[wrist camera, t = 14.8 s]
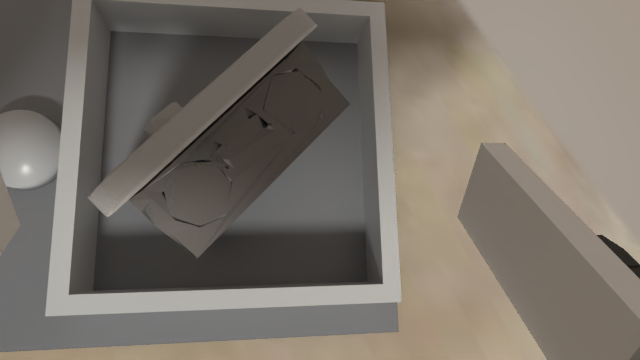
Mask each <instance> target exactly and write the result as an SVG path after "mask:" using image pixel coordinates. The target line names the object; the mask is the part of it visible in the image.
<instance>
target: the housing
mask: <svg viewBox="0 0 640 360" xmlns="http://www.w3.org/2000/svg"><path fill="white" fill-rule="evenodd" d="M298 8H301V9H302V10H303V11H304V12H305V13H306V14H307V15H308V16H309V17H310V18H311V19H312V20H313V21H314V22H315V23H316V24H317V25H318V26H317V27H316V28H315V29H314V30H313V31H312V32H310V33H309V34H308V35H307V36H306V37H305V38H304V39H303V42H304V43H305V45H306V46H307V48H308V50H309V51H310V53H311V54H312V55H313V56H314V57H315V58H316V60H317V61H318V62H319V63H320V64H321V66H322V67H323V69H324V71H325V73H326V75H327V77H328V79H329V80H330V81H331V82H332V84H333V85H334V86H335V87H336V88H337V89H338V90H339V92H340V93H341V94H342V95H343V96H344V97H345V99H346V100H347V101H348V102H349V103H350V105H349V106H348V107H347V108H346V109H345V110H344V111H343V112H342V113H341V114H340V115H339V116H338V117H337V118H336V119H335V120H334V121H333V122H332V123H331V124H330V125H329V126H328V127H327V128H326V129H325V130H324V131H323V132H322V133H321V134H320V135H319V136H318V137H317V138H316V139H315V140H314V141H313V142H312V143H311V144H310V145H309V146H308V147H307V148H306V149H305V150H304V151H303V152H302V153H301V154H300V155H299V156H298V157H297V158H296V159H295V160H294V161H293V162H292V163H291V165H290V166H289V167H288V168H287V169H286V170H285V171H284V172H283V173H282V174H281V175H280V176H279V177H278V178H277V179H276V180H275V181H274V182H273V183H272V184H271V185H270V186H269V187H268V188H267V189H266V190H265V191H264V192H263V193H262V194H261V195H260V196H259V197H258V198H257V199H256V200H255V201H254V202H253V203H252V204H251V205H250V206H249V207H248V208H247V209H246V210H245V211H244V212H243V213H242V214H241V215H240V216H239V217H238V218H237V219H236V220H235V221H234V222H233V223H232V224H231V225H230V226H229V227H228V228H227V229H226V230H225V231H224V232H223V233H222V234H221V235H220V236H219V237H218V238H217V239H216V240H215V241H214V242H213V243H212V244H211V245H210V246H209V247H208V248H207V249H206V250H205V251H204V252H203V253H202V254H201V255H200V256H199V257H198V258H197V257H196V256H195V257H194V256H192V255H191V254H190V253H189V252H188V251H187V250H186V249H185V248H184V247H183V246H182V245H180V244H179V243H178V242H176V241H175V240H174V239H172V238H171V237H169V236H168V235H167V234H165V233H164V232H163V231H161V230H160V229H159V228H157V227H156V226H155V225H153V224H152V222H151V221H150V220H149V219H148V218H147V217H146V216H145V215H144V214H143V213H142V212H141V211H140V210H139V209H137V208H136V207H135V206H134V205H133V204H132V203H131V202H129V201H127V202H125V203H124V204H123V205H122V206H121V207H120V208H119V209H118V210H117V211H116V212H115V213H113V214H112V215H110V216H109V217H107V216H105V215H104V214H103V213H102V212H101V211H100V210H99V209H98V208H97V207H96V206H95V205H94V204H93V203H92V202H91V201H90V200H89V199H88V198H87V197H88V196H89V195H90V194H91V193H92V192H93V191H94V190H95V188H96V187H97V186H98V185H99V184H100V183H101V182H102V181H103V180H104V178H105V177H106V176H107V175H108V174H109V173H110V172H111V171H113V170H114V169H115V168H116V167H117V166H118V165H119V164H120V163H122V162H123V161H124V160H125V159H126V158H127V157H128V156H129V155H130V154H132V153H133V152H134V151H135V150H136V149H137V148H138V147H139V146H141V145H142V144H143V143H144V142H145V141H146V140H147V139H148V138H149V137H148V135H147V134H146V133H145V131H144V130H143V129H144V128H145V126H146V125H147V124H148V122H149V121H150V120H151V119H152V118H153V117H154V116H156V115H157V114H158V113H159V112H161V111H162V110H163V109H164V108H166V107H167V106H168V105H169V104H171V103H174V102H177V103H178V104H179V105H180V106H181V107H182V108H183V107H184V106H186V105H187V104H188V103H189V102H190V100H191V99H193V98H194V97H195V96H196V95H197V94H199V93H200V92H201V91H202V90H203V89H205V88H206V87H207V86H208V85H209V84H210V83H211V82H213V81H214V80H215V79H216V78H217V77H218V76H219V75H221V74H222V73H223V72H224V71H225V70H226V69H227V68H228V67H230V66H231V65H232V64H233V63H234V62H235V61H236V60H238V59H239V58H240V57H241V56H242V55H243V54H244V53H245V52H247V51H248V50H249V49H250V48H251V47H252V46H253V45H255V44H256V43H257V42H258V41H259V40H260V39H261V38H263V37H264V36H265V35H266V34H267V33H268V32H269V31H270V30H272V29H273V28H274V27H275V26H276V25H277V24H278V23H279V22H281V21H282V20H283V19H284V18H286V17H287V16H288V15H290V14H291V13H293V12H294V11H295V10H297V9H298ZM321 117H322V114H321ZM295 133H296V132H295ZM0 171H1V174H2V177H3V179H4V182H5V185H6V187H7V190H8V193H9V195H10V198H11V201H12V203H13V206H14V209H15V212H16V214H17V217H18V220H19V222H20V227H19V228H18V230H17V231H16V233H15V234H14V236H13V237H12V239H11V240H10V242H9V243H8V245H7V246H6V248H5V249H4V251H3V252H2V254H1V255H0V352H11V351H31V350H50V349H70V348H90V347H110V346H129V345H149V344H169V343H188V342H208V341H228V340H247V339H267V338H287V337H307V336H326V335H346V334H366V333H385V332H399V330H398V312H397V302H402V301H401V283H400V266H399V248H398V230H397V213H396V195H395V177H394V160H393V142H392V124H391V107H390V89H389V71H388V53H387V36H386V18H385V3H382V2H367V1H352V0H0ZM224 216H225V214H224V215H222V216H221V217H224ZM221 217H219V218H221ZM217 219H218V218H217ZM190 225H192V224H190ZM193 226H195V225H193Z"/></svg>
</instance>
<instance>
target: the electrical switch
mask: <svg viewBox="0 0 640 360" xmlns="http://www.w3.org/2000/svg"><path fill="white" fill-rule="evenodd" d="M317 26H318V25H317V24H316V23H315V22H314V21H313V20H312V19H311V18H310V17H309V16H308V15H307V14H306V13H305V12H304V11H303V10H302V9H301V8H298V9H297V10H295V11H294V12H293V13H291V14H290V15H288V16H287V17H286V18H284V19H283V20H282V21H281V22H279V23H278V24H277V25H276V26H275V27H274V28H273V29H272V30H270V31H269V32H268V33H267V34H266V35H265V36H264V37H263V38H261V39H260V40H259V41H258V42H257V43H256V44H255V45H253V46H252V47H251V48H250V49H249V50H248V51H247V52H245V53H244V54H243V55H242V56H241V57H240V58H239V59H238V60H236V61H235V62H234V63H233V64H232V65H231V66H230V67H228V68H227V69H226V70H225V71H224V72H223V73H222V74H221V75H219V76H218V77H217V78H216V79H215V80H214V81H213V82H211V83H210V84H209V85H208V86H207V87H206V88H205V89H203V90H202V91H201V92H200V93H199V94H197V95H196V96H195V97H194V98H193V99H191V100H190V102H189V103H188V104H187V105H186V106H184V107H183V108H182V107H181V106H180V105H179V104H178V103H177V102H174V103H171V104H169V105H168V106H167V107H166V108H164V109H163V110H162V111H161V112H159V113H158V114H157V115H156V116H154V117H153V118H152V119H151V120H150V121H149V122H148V124H147V125H146V126H145V128H144V129H143V130H144V131H145V133H146V134H147V135H148V137H149V138H148V139H147V140H146V141H145V142H144V143H143V144H142V145H141V146H139V147H138V148H137V149H136V150H135V151H134V152H133V153H132V154H130V155H129V156H128V157H127V158H126V159H125V160H124V161H123V162H122V163H120V164H119V165H118V166H117V167H116V168H115V169H114V170H113V171H111V172H110V173H109V174H108V175H107V176H106V177H105V178H104V180H103V181H102V182H101V183H100V184H99V185H98V186H97V187H96V188H95V190H94V191H93V192H92V193H91V194H90V195H89V196H88V197H87V198H88V199H89V200H90V201H91V202H92V203H93V204H94V205H95V206H96V207H97V208H98V209H99V210H100V211H101V212H102V213H103V214H104V215H105V216H107V217H109V216H110V215H112V214H113V213H115V212H116V211H117V210H118V209H119V208H120V207H121V206H122V205H123V204H124V203H125V202H127V201H129V202H131V203H132V204H133V205H134V206H135V207H136V208H137V209H139V210H140V211H141V212H142V213H143V214H144V215H145V216H146V217H147V218H148V219H149V220H150V221H151V222H152V224H153V225H155V226H156V227H157V228H159V229H160V230H161V231H163V232H164V233H165V234H167V235H168V236H169V237H171V238H172V239H174V240H175V241H176V242H178V243H179V244H180V245H182V246H183V247H184V248H185V249H186V250H187V251H188V252H189V253H190V254H191V255H192V256H194V257H195V256H196V257H197V258H198V257H199V256H200V255H201V254H202V253H203V252H204V251H205V250H206V249H207V248H208V247H209V246H210V245H211V244H212V243H213V242H214V241H215V240H216V239H217V238H218V237H219V236H220V235H221V234H222V233H223V232H224V231H225V230H226V229H227V228H228V227H229V226H230V225H231V224H232V223H233V222H234V221H235V220H236V219H237V218H238V217H239V216H240V215H241V214H242V213H243V212H244V211H245V210H246V209H247V208H248V207H249V206H250V205H251V204H252V203H253V202H254V201H255V200H256V199H257V198H258V197H259V196H260V195H261V194H262V193H263V192H264V191H265V190H266V189H267V188H268V187H269V186H270V185H271V184H272V183H273V182H274V181H275V180H276V179H277V178H278V177H279V176H280V175H281V174H282V173H283V172H284V171H285V170H286V169H287V168H288V167H289V166H290V165H291V163H292V162H293V161H294V160H295V159H296V158H297V157H298V156H299V155H300V154H301V153H302V152H303V151H304V150H305V149H306V148H307V147H308V146H309V145H310V144H311V143H312V142H313V141H314V140H315V139H316V138H317V137H318V136H319V135H320V134H321V133H322V132H323V131H324V130H325V129H326V128H327V127H328V126H329V125H330V124H331V123H332V122H333V121H334V120H335V119H336V118H337V117H338V116H339V115H340V114H341V113H342V112H343V111H344V110H345V109H346V108H347V107H348V106H349V105H350V103H349V102H348V101H347V100H346V99H345V97H344V96H343V95H342V94H341V93H340V92H339V90H338V89H337V88H336V87H335V86H334V85H333V84H332V82H331V81H330V80H329V79H328V77H327V75H326V73H325V71H324V69H323V67H322V66H321V64H320V63H319V62H318V61H317V60H316V58H315V57H314V56H313V55H312V54H311V53H310V51H309V50H308V48H307V46H306V45H305V43H304V42H303V39H304V38H305V37H306V36H307V35H308V34H309V33H310V32H312V31H313V30H314V29H315V28H316V27H317ZM321 114H322V117H321ZM295 132H296V133H295ZM224 214H225V216H224V217H221V216H222V215H224ZM219 217H221V218H219ZM217 218H218V219H217ZM190 224H192V225H190ZM193 225H195V226H193Z"/></svg>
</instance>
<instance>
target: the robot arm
mask: <svg viewBox="0 0 640 360" xmlns="http://www.w3.org/2000/svg"><path fill="white" fill-rule="evenodd" d="M458 218H459V220H460V221H461V223H462V224H463V226H464V228H465V229H466V231H467V232H468V234H469V236H470V237H471V239H472V240H473V242H474V244H475V245H476V247H477V248H478V250H479V252H480V253H481V255H482V256H483V258H484V260H485V261H486V263H487V264H488V266H489V267H490V269H491V271H492V272H493V274H494V275H495V277H496V279H497V280H498V282H499V283H500V285H501V287H502V288H503V290H504V291H505V293H506V295H507V296H508V298H509V299H510V301H511V303H512V304H513V306H514V307H515V309H516V310H517V312H518V314H519V315H520V317H521V318H522V320H523V322H524V323H525V325H526V326H527V328H528V330H529V331H530V333H531V334H532V336H533V338H534V339H535V341H536V342H537V344H538V346H539V347H540V349H541V350H542V352H543V353H544V355H545V357H546V358H547V360H640V264H639V263H638V262H637V261H635V260H634V259H633V258H632V257H631V256H630V255H629V254H628V253H627V252H626V251H625V250H624V249H623V248H621V247H620V246H618V245H617V244H615V243H614V242H612V241H610V240H609V239H607V238H606V237H604V236H603V235H596V234H595V233H594V232H593V231H592V230H591V229H590V228H589V227H588V226H587V225H586V224H585V223H584V222H583V221H582V220H581V219H580V218H579V217H578V216H577V215H576V214H575V213H574V212H573V211H572V210H571V209H570V208H569V207H568V206H567V205H566V204H565V203H564V202H563V201H562V200H561V199H560V198H559V197H558V196H557V195H556V194H555V193H554V192H553V191H552V190H551V189H550V188H549V187H548V186H547V185H546V184H545V183H544V182H543V181H542V180H541V179H540V178H539V177H538V176H537V175H536V174H535V173H534V172H533V171H532V170H531V169H530V168H529V167H528V166H527V165H526V164H525V163H524V162H523V161H522V159H521V158H520V157H519V156H518V155H517V154H516V153H515V152H514V151H513V150H512V149H511V148H510V147H509V146H508V145H507V144H506V143H481V145H480V148H479V152H478V155H477V158H476V161H475V164H474V167H473V170H472V173H471V176H470V180H469V183H468V186H467V189H466V192H465V195H464V198H463V201H462V204H461V207H460V211H459V214H458ZM19 227H20V222H19V220H18V217H17V214H16V212H15V209H14V206H13V203H12V201H11V198H10V195H9V193H8V190H7V187H6V185H5V182H4V179H3V177H2V174H1V171H0V255H1V254H2V252H3V251H4V249H5V248H6V246H7V245H8V243H9V242H10V240H11V239H12V237H13V236H14V234H15V233H16V231H17V230H18V228H19Z"/></svg>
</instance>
